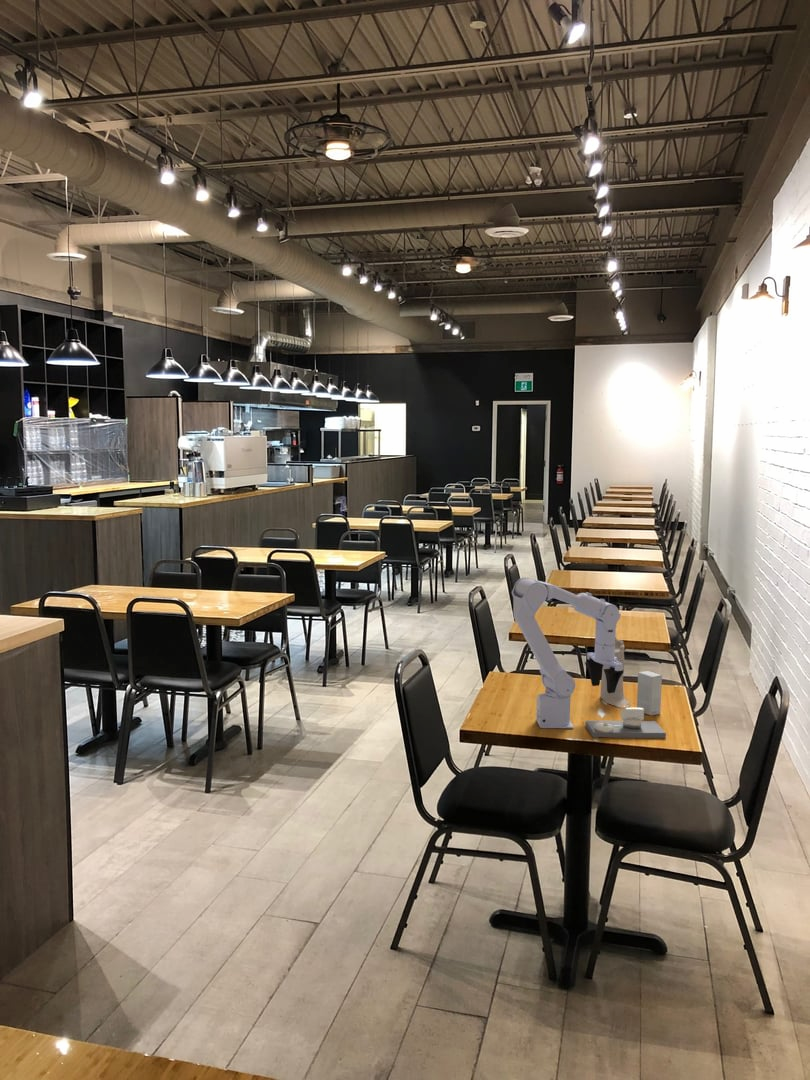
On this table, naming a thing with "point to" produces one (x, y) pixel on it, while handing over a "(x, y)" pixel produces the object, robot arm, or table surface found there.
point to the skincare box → (649, 692)
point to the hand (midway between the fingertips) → (603, 689)
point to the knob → (632, 717)
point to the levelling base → (624, 730)
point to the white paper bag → (618, 696)
